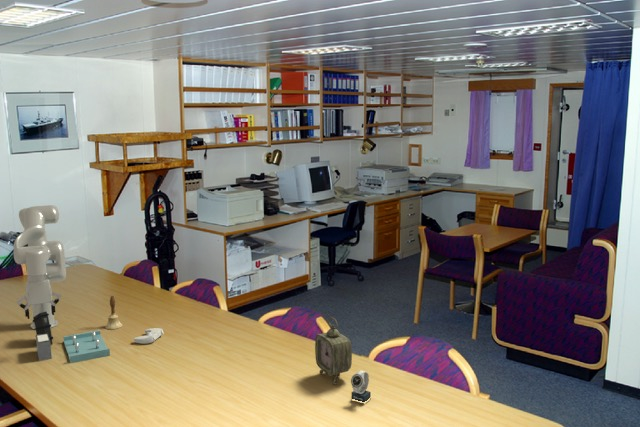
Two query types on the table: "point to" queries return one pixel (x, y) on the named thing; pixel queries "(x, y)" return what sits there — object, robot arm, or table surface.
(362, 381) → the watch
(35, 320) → the black stepped block
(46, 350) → the block
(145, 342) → the game controller
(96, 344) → the pin tray
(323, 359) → the tabletop clock
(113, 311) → the hand bell
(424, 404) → the table surface
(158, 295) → the table surface
